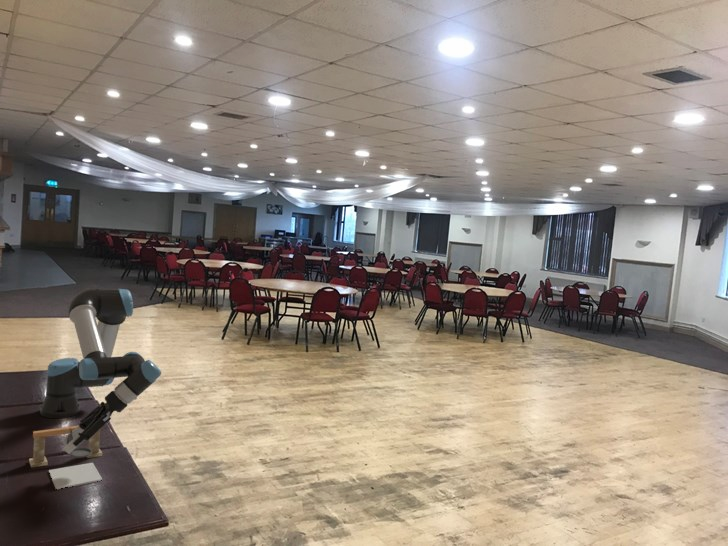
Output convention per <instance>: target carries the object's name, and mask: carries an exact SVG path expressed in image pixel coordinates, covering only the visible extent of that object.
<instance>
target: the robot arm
mask: <svg viewBox="0 0 728 546" xmlns="http://www.w3.org/2000/svg"><path fill="white" fill-rule="evenodd" d="M133 313H134V301H133V297H132V292H131V291H130V290H129V289H125V288H123V289H122V288H88V289H84V290H82V291H80V292H78V293H77V294H76V295H75V296H74V297H73V298H72V299H71V301H70V304H69V306H68V316H69V320H70V322H72V323H73V324H74V329H75V333H76V336H77V339H78V344H79V346H80V347H79V348H80V351H81V354H82V359H81V360H80V361H79V360H78V358H74V357H71V358H70V357H67V358H60V359H56V360H53V361H51V362H50V363H48V365H47V373H46V388H45V389H46V390H45V397H44V400H43V402H42V406H41V407H40V409H39V410H40V411H39V412H40V415H41V416H42V417H44V418H48V419H65V418H69V417H73V416H75V414H76V415H77V414H79V413H80V406H81V405H80V404H79V400H78V397H77V389H83V388H84V389H85V388H97V387H105V386H109V385H111V384H112V383H113V382H114V380H115V379H116V378H117V379H118V378H125V379H123V380H122V381H121V382H120V383H119V384H118V385H117V386H115V387H114V389H113V390H111V391H110V392H109V393H108V394H107V395H106V396H104V401H105V402H104V401H102V402H100V403H99V404H98V405H97V407H95V408H93V410H91V411H90V412H89V413H88V414H87V415H85V417H83V418H82V419H80V422H79V424H78V425H76V426H77V427H76V428H75V429H74V430H73V431H72V436H73V440H72V441H70V442H69V443H68V444H67V438H68V435H69V434H70V433H68V434H67V435H66V436H65V437H63V439H62V441H63V442H64V444H66V445H65V446H64V447H62V450H63V451H64V452H66V453H67V454H68V455H70V453H71V452H72V451H73V450H74V449H77V448H78V447H79V445H81V444H82V443H83V442H84V441H89V439H90V438H91V437H92V436H93V435H94V434H95V433H96V432H97V431H98V430H99V429H100V428H101V429H102V428H103V426H105V425H106V424H107V423H108V422H110V420H112V415H113V413H114V412H117V413H121V412H122V411H123V410H125V409H126V408H127V407H128V404H131V403H132V402H133V401H136V400H137V399H138V397H139V395H141V394H142V393H144V391H145V390H147V389H148V388H149V387H150V386H151V385H153V383H155V382H156V380H158V378H159V377H161V375H162V370H160V368H159V367H158V365H156V364H155V363H154V362H153V361H151V359H145V358H144V357H143V356H142V354H140V353H139V352H136V351H129V352H127V353H125V354H124V355H122V356H113V352H114V348H115V345H116V340H117V336H118V333H119V330H120V326H121V325H122V324H124V322H126V319H127V317H128V318H129V317H132V316H133ZM97 320H98V321H97ZM78 412H79V413H78ZM83 429H84V430H83ZM101 429H100V430H101Z"/></svg>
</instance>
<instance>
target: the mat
mask: <svg viewBox="0 0 728 546" xmlns="http://www.w3.org/2000/svg"><path fill="white" fill-rule="evenodd" d="M49 473H50V474H49ZM48 474H49V475H50V478H52V479H51V481H52V483H53V486H54V488H55V490H56V489H57V490H62V489H61V488H63V489H66V488H65V487H68V488H71V487H72V486H73V487H78V486H82V485H88V484H93V483H98V482H102V481H103V477H102V476H101V474H100V473H99V471H98V469H97V467H96V466H95V463H94V462H89V463H88V462H87V463H82V464H78V465H77V464H76V465H72V466H71V465H70V466H65V467H59V468H53V469H49V470H48ZM101 480H102V481H101ZM97 481H98V482H97ZM73 487H72V488H73Z"/></svg>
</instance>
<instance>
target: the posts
mask: <svg viewBox="0 0 728 546" xmlns="http://www.w3.org/2000/svg"><path fill="white" fill-rule="evenodd" d="M100 439H101V429H99V430H98V431H97V432H96V433H95V434H94V435H93V436H92V437H91V438H90V439H89V440H88V447H87V448H89V449H91V450H92V453H91V454H90V455H88V456H86V458H87V459H92V458H98V457H103V452H102V450H101V449H100V441H101V440H100ZM45 450H46V437H40V438H33V453H32V458H29V459H28V460H29V461H28V463H29V465H30V468H32V469H33V468H39V467H43V466H48V465H49V464H48V460H47V457H46V456H45Z"/></svg>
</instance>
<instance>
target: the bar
mask: <svg viewBox="0 0 728 546" xmlns="http://www.w3.org/2000/svg"><path fill="white" fill-rule="evenodd" d="M77 426H78V425H71V426H65V427H57V428H50V429H43V430H33V431H32V438H33V439H34V438H40V437H45V438H46V437H53V436H62V435H66V434H67V435H68V434H70V429H71V430H72V431H73V430H74V429H75V428H76V427H77ZM101 429H102V427H101V428H100V430H101ZM83 430H84V429H83Z"/></svg>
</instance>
